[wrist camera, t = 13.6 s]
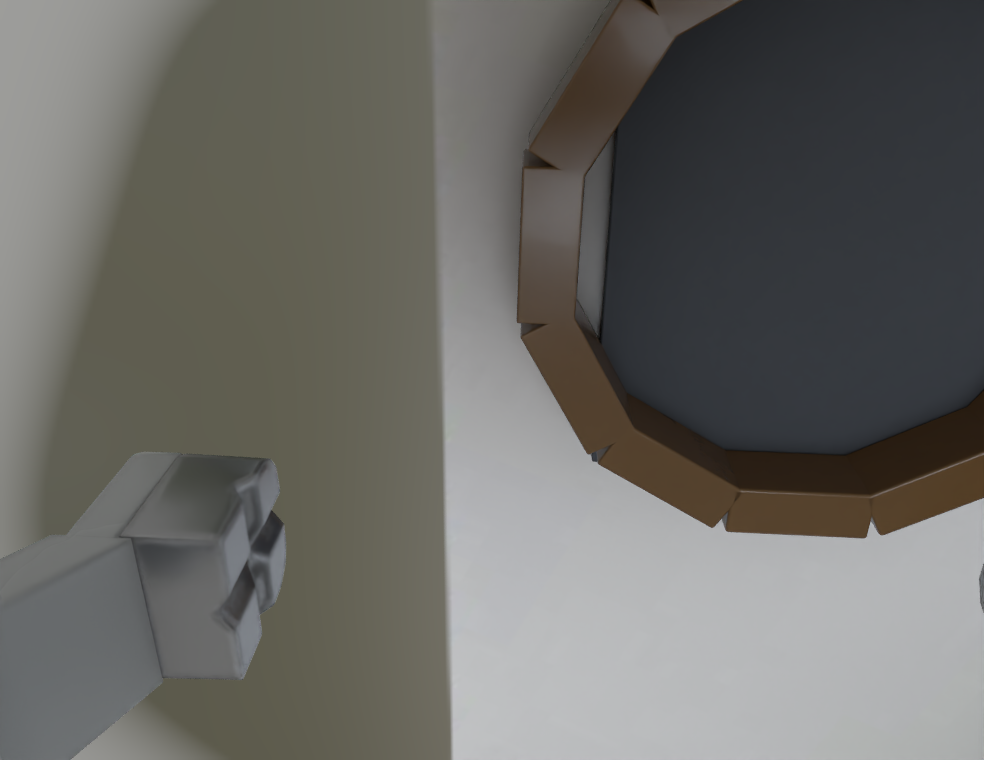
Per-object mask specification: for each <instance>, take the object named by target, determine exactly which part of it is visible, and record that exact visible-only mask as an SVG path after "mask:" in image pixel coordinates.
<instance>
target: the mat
mask: <svg viewBox="0 0 984 760" xmlns="http://www.w3.org/2000/svg"><path fill="white" fill-rule="evenodd" d="M600 343H601V345H602V347H603V349H604V351H605V352H606V354H607V356H608V358H609V360H610V362H611V364H612V366H613V367H614V369H615V371H616V373H617V375H618V377H619V379H620V381H621V382H622V384H623V386H624V388H625V390H626V392H627V393H628V394H630V395H632V396H634V397H635V398H637V399H639V400H640V401H642V402H644V403H646V404H647V405H649V406H651V407H652V408H654V409H656V410H657V411H659V412H661V413H663V414H664V415H666V416H668V417H669V418H671V419H673V420H675V421H676V422H678V423H680V424H681V425H683V426H685V427H686V428H688V429H690V430H692V431H693V432H695V433H697V434H698V435H700V436H702V437H704V438H705V439H707V440H709V441H710V442H712V443H714V444H715V445H717V446H719V447H721V448H722V449H724V450H736V451H759V452H781V453H804V454H827V455H847V454H850V453H852V452H855V451H857V450H860V449H862V448H865V447H867V446H870V445H872V444H875V443H877V442H880V441H882V440H885V439H887V438H890V437H892V436H895V435H897V434H900V433H902V432H905V431H907V430H910V429H912V428H915V427H917V426H920V425H922V424H925V423H927V422H930V421H932V420H935V419H937V418H940V417H942V416H945V415H947V414H950V413H952V412H955V411H957V410H960V409H962V408H965V407H967V406H968V405H969V404H970V403H971V402H972V401H973V400H974V399H975V398H976V397H977V396H978V395H979V394H980V393H981V392H982V391H983V390H984V0H743V1H741V2H740V3H738V4H736V5H734V6H732V7H731V8H729V9H727V10H725V11H723V12H722V13H720V14H718V15H716V16H714V17H713V18H711V19H709V20H707V21H705V22H703V23H702V24H700V25H698V26H696V27H694V28H693V29H691V30H689V31H687V32H685V33H684V34H682V35H680V36H678V37H676V39H675V40H674V42H673V44H672V45H671V47H670V48H669V50H668V51H667V53H666V54H665V56H664V57H663V59H662V60H661V62H660V63H659V65H658V66H657V68H656V69H655V71H654V72H653V74H652V75H651V77H650V78H649V80H648V82H647V83H646V85H645V86H644V88H643V89H642V91H641V92H640V94H639V95H638V97H637V98H636V100H635V101H634V103H633V104H632V106H631V107H630V109H629V110H628V112H627V113H626V115H625V116H624V118H623V119H622V121H621V123H620V124H619V126H618V127H617V129H616V136H615V150H614V163H613V176H612V190H611V203H610V216H609V229H608V243H607V256H606V269H605V283H604V296H603V309H602V323H601V336H600ZM592 461H595V462H597V453H596V452H593V453H592Z"/></svg>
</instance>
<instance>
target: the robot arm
mask: <svg viewBox="0 0 984 760" xmlns="http://www.w3.org/2000/svg"><path fill="white" fill-rule="evenodd" d="M279 492H280V489H279V482H278V476H277V469H276V466H275V465H274V463H273V462H272V460H271V459H266V458H251V457H234V456H218V455H217V456H216V455H201V454H181V453H164V452H141V453H137V454H133V455H132V456H131V457H130V459H129V460H128V461H127V462H126V464H125V465H124V466H123V467H122V468H121V469H120V471H119V472H118V473H117V474H116V475H115V477H114V478H113V479H112V480H111V482H110V483H109V484H108V485H107V486H106V488H105V489H104V490H103V491H102V492H101V494H100V495H99V496H98V497H97V498H96V500H95V501H94V502H93V503H92V504H91V506H90V507H89V508H88V509H87V510H86V512H85V513H84V514H83V515H82V516H81V518H80V519H79V520H78V521H77V522H76V524H75V525H74V526H73V527H72V528H71V530H70V531H69V532H68V533H67V535H50V536H48V537H46V538H44V539H42V540H40V541H37V542H35V543H33V544H31V545H29V546H27V547H25V548H23V549H20V550H18V551H16V552H14V553H12V554H10V555H8V556H6V557H3V558H2V559H0V760H71V759H72V758H73V757H74V756H75V755H77V754H78V753H79V752H80V751H81V750H83V749H84V748H85V747H86V746H87V745H89V744H90V743H91V742H92V741H93V740H95V739H96V738H97V737H98V736H99V735H100V734H102V733H103V732H104V731H105V730H107V729H108V728H109V727H110V726H111V725H112V724H114V723H115V722H116V721H117V720H119V719H120V718H121V717H122V716H123V715H124V714H126V713H127V712H128V711H129V710H130V709H131V708H133V707H134V706H135V705H136V704H137V703H139V702H140V701H141V700H142V699H144V698H145V697H146V696H147V695H148V694H150V693H151V692H152V691H153V690H154V689H155V688H157V687H158V686H159V685H160V684H161V683H163V679H162V678H187V679H230V680H243V678H244V676H245V673H246V671H247V668H248V666H249V664H250V661H251V659H252V657H253V654H254V652H255V649H256V647H257V645H258V642H259V640H260V638H261V635H262V630H261V623H260V616H259V615H260V614H262V613H263V612H264V611H266V610H267V609H269V608H270V607H272V606H273V605H274V604H275V601H276V599H277V596H278V593H279V591H280V588H281V585H282V579H283V574H284V568H285V562H286V538H285V529H284V523H283V522H282V521H281V520H280V519H279V518H278V517H277V516H276V515H275V513H273V511H272V510H271V509H272V507H273V505H274V503H275V501H276V499H277V497H278V495H279ZM979 584H980V603H981V606H982V609H983V612H984V564H983V568H982V571H981V574H980V578H979Z"/></svg>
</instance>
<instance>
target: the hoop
mask: <svg viewBox="0 0 984 760" xmlns="http://www.w3.org/2000/svg"><path fill="white" fill-rule="evenodd" d="M741 1H743V0H610V2H609V4H608V5H607V7H606V9H605V10H604V12H603V13H602V15H601V17H600V18H599V20H598V22H597V23H596V25H595V26H594V28H593V30H592V31H591V33H590V35H589V36H588V38H587V40H586V41H585V43H584V44H583V46H582V48H581V49H580V51H579V53H578V54H577V56H576V57H575V59H574V61H573V62H572V64H571V66H570V67H569V69H568V71H567V72H566V74H565V75H564V77H563V79H562V80H561V82H560V84H559V85H558V87H557V88H556V90H555V92H554V93H553V95H552V97H551V98H550V100H549V102H548V103H547V105H546V106H545V108H544V110H543V111H542V113H541V115H540V116H539V118H538V119H537V121H536V123H535V124H534V126H533V128H532V129H531V131H530V133H529V146H528V149H525V150H524V154H523V166H522V190H521V217H520V244H519V271H518V298H517V323H521V339H522V341H523V343H524V344H525V346H526V348H527V350H528V351H529V353H530V355H531V357H532V358H533V360H534V362H535V364H536V365H537V367H538V369H539V371H540V372H541V374H542V376H543V378H544V379H545V381H546V383H547V385H548V386H549V388H550V390H551V391H552V393H553V395H554V397H555V398H556V400H557V402H558V404H559V405H560V407H561V409H562V411H563V412H564V414H565V416H566V418H567V419H568V421H569V423H570V425H571V426H572V428H573V430H574V432H575V433H576V435H577V437H578V439H579V440H580V442H581V444H582V446H583V447H584V449H585V451H586V453H587V454H591V453H593V452H596V453H597V462H598V464H599V465H601V466H603V467H604V468H606V469H608V470H610V471H611V472H613V473H615V474H617V475H619V476H620V477H622V478H624V479H626V480H627V481H629V482H631V483H633V484H635V485H636V486H638V487H640V488H642V489H643V490H645V491H647V492H649V493H651V494H652V495H654V496H656V497H658V498H659V499H661V500H663V501H665V502H667V503H668V504H670V505H672V506H674V507H675V508H677V509H679V510H681V511H683V512H684V513H686V514H688V515H690V516H692V517H693V518H695V519H697V520H699V521H700V522H702V523H704V524H706V525H708V526H709V527H711V528H713V527H714V526H715V525H716V524H717V523H718V522H719V521H720V520H721V519H722V521H723V524H724V527H725V530H726V531H727V532H741V533H762V534H783V535H804V536H826V537H847V538H866V537H867V533H868V529H869V525H870V521H871V522H872V523H873V525H874V527H875V528H876V530H877V532H878V533H879V534H880V535H885V534H888V533H891V532H893V531H896V530H899V529H901V528H904V527H907V526H909V525H912V524H915V523H918V522H920V521H923V520H926V519H928V518H931V517H934V516H936V515H939V514H942V513H944V512H947V511H950V510H953V509H955V508H958V507H961V506H963V505H966V504H969V503H971V502H974V501H977V500H979V499H982V498H984V390H983V391H982V392H981V393H980V394H979V395H978V396H977V397H976V398H975V399H974V400H973V401H972V402H971V403H970V404H969V405H968V406H967V407H965V408H962V409H960V410H957V411H955V412H952V413H950V414H947V415H945V416H942V417H940V418H937V419H935V420H932V421H930V422H927V423H925V424H922V425H920V426H917V427H915V428H912V429H910V430H907V431H905V432H902V433H900V434H897V435H895V436H892V437H890V438H887V439H885V440H882V441H880V442H877V443H875V444H872V445H870V446H867V447H865V448H862V449H860V450H857V451H855V452H852V453H850V454H847V455H827V454H804V453H781V452H759V451H736V450H724V449H722V448H721V447H719V446H717V445H715V444H714V443H712V442H710V441H709V440H707V439H705V438H704V437H702V436H700V435H698V434H697V433H695V432H693V431H692V430H690V429H688V428H686V427H685V426H683V425H681V424H680V423H678V422H676V421H675V420H673V419H671V418H669V417H668V416H666V415H664V414H663V413H661V412H659V411H657V410H656V409H654V408H652V407H651V406H649V405H647V404H646V403H644V402H642V401H640V400H639V399H637V398H635V397H634V396H632V395H630V394H628V393H627V392H626V390H625V388H624V386H623V384H622V382H621V381H620V379H619V377H618V375H617V373H616V371H615V369H614V367H613V366H612V364H611V362H610V360H609V358H608V356H607V354H606V352H605V351H604V349H603V347H602V345H601V343H600V341H599V339H598V337H597V336H596V334H595V332H594V330H593V328H592V326H591V324H590V322H589V320H588V319H587V317H586V315H585V313H584V311H583V309H582V307H581V305H580V304H579V302H578V300H577V283H578V269H579V255H580V240H581V226H582V211H583V197H584V183H585V176H586V174H587V173H588V171H589V170H590V168H591V167H592V165H593V164H594V162H595V161H596V159H597V157H598V156H599V154H600V153H601V151H602V150H603V148H604V147H605V145H606V144H607V142H608V141H609V139H610V138H611V136H612V135H613V133H614V132H615V130H616V129H617V127H618V126H619V124H620V123H621V121H622V119H623V118H624V116H625V115H626V113H627V112H628V110H629V109H630V107H631V106H632V104H633V103H634V101H635V100H636V98H637V97H638V95H639V94H640V92H641V91H642V89H643V88H644V86H645V85H646V83H647V82H648V80H649V78H650V77H651V75H652V74H653V72H654V71H655V69H656V68H657V66H658V65H659V63H660V62H661V60H662V59H663V57H664V56H665V54H666V53H667V51H668V50H669V48H670V47H671V45H672V44H673V42H674V40H675V39H676V37H678V36H680V35H682V34H684V33H685V32H687V31H689V30H691V29H693V28H694V27H696V26H698V25H700V24H702V23H703V22H705V21H707V20H709V19H711V18H713V17H714V16H716V15H718V14H720V13H722V12H723V11H725V10H727V9H729V8H731V7H732V6H734V5H736V4H738V3H740V2H741Z"/></svg>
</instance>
